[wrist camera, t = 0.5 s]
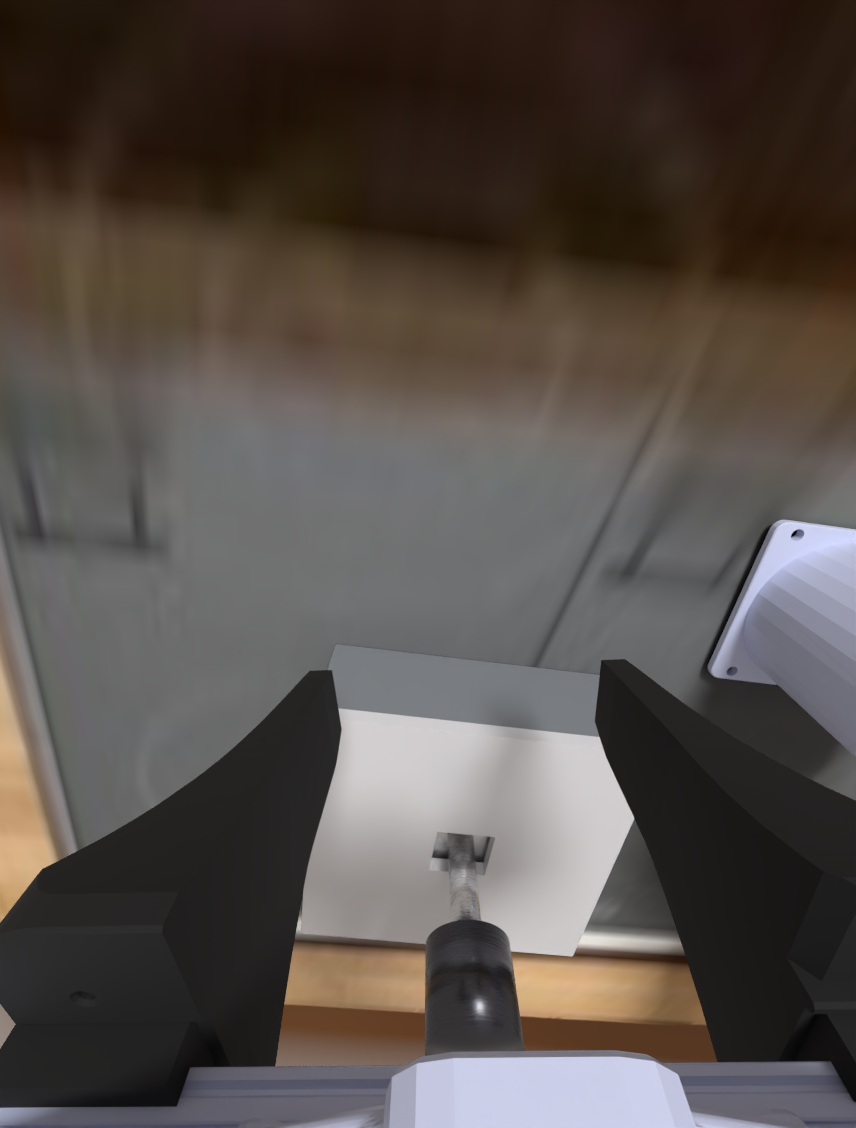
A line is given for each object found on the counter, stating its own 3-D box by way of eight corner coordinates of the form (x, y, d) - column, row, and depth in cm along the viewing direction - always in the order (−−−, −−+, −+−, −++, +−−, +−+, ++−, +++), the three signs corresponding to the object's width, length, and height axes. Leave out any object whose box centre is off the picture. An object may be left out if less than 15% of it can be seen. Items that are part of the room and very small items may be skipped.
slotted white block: (617, 677, 23) (663, 754, 19) (549, 861, 29) (572, 956, 24) (335, 644, 23) (312, 716, 18) (321, 840, 28) (301, 933, 24)
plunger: (604, 753, 20) (701, 969, 13) (545, 908, 25) (593, 1135, 18) (353, 726, 20) (309, 935, 13) (337, 890, 24) (298, 1116, 17)
